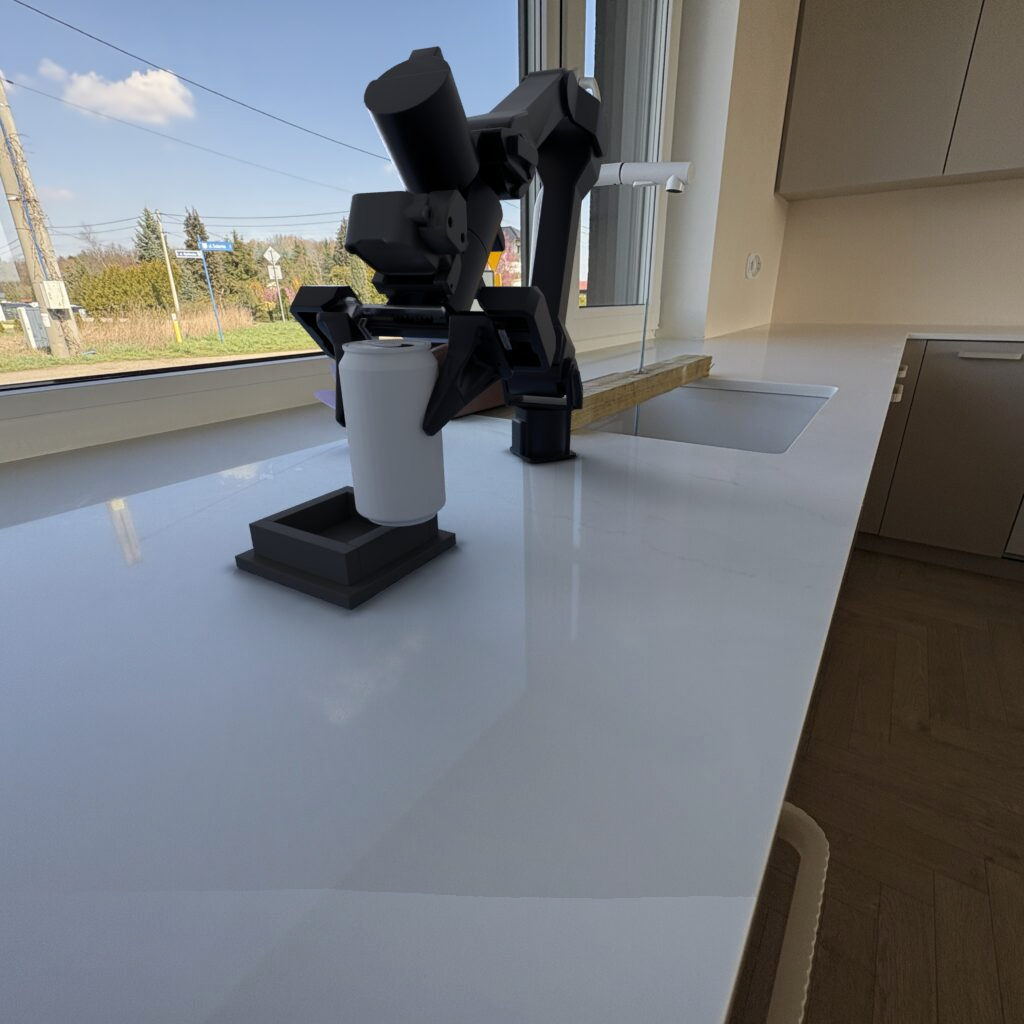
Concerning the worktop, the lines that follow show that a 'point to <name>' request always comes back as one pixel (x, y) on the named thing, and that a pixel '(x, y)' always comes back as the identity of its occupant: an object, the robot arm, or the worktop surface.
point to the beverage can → (392, 430)
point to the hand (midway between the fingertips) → (382, 428)
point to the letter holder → (483, 401)
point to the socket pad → (338, 549)
